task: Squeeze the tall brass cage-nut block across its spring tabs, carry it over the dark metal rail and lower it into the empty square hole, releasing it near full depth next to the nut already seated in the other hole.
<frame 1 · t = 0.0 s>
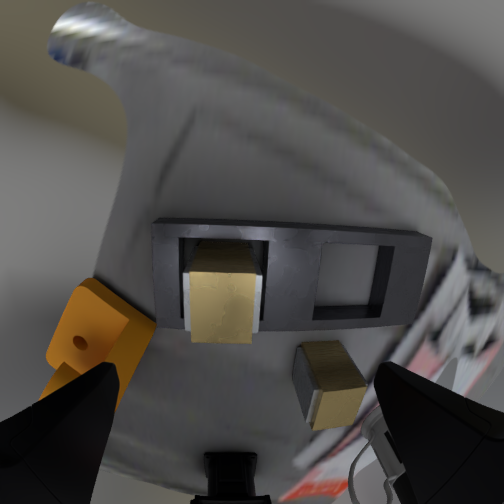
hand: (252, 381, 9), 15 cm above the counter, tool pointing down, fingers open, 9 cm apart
bracket: (101, 334, 24), on the counter
rail: (298, 272, 24), on the counter
brass nut: (316, 360, 26), on the counter
seated nut: (223, 269, 23), resting in rail
glass holder: (373, 419, 30), on the counter
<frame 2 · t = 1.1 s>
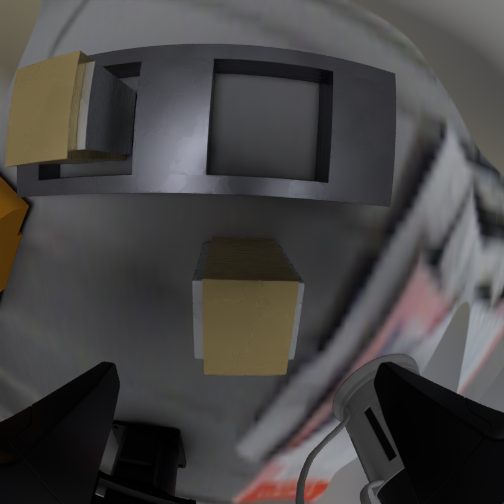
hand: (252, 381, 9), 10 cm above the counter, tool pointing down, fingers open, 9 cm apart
rail: (196, 121, 15), on the counter
brass nut: (240, 273, 18), on the counter
seated nut: (101, 126, 15), resting in rail
glass holder: (351, 392, 22), on the counter
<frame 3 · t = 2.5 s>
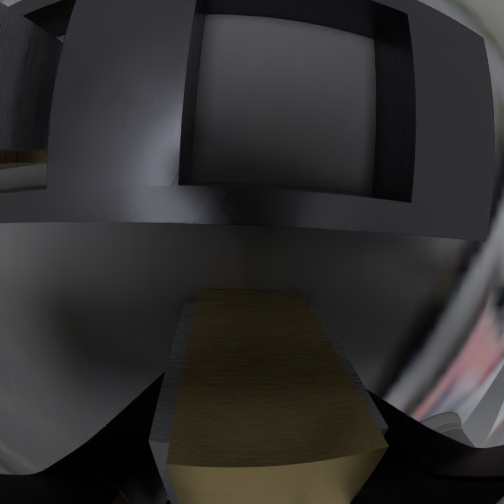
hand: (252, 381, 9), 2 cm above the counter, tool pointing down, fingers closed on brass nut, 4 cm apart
rail: (169, 89, 8), on the counter
brass nut: (247, 343, 11), on the counter, touching gripper
seated nut: (28, 110, 8), resting in rail
glass holder: (383, 458, 15), on the counter
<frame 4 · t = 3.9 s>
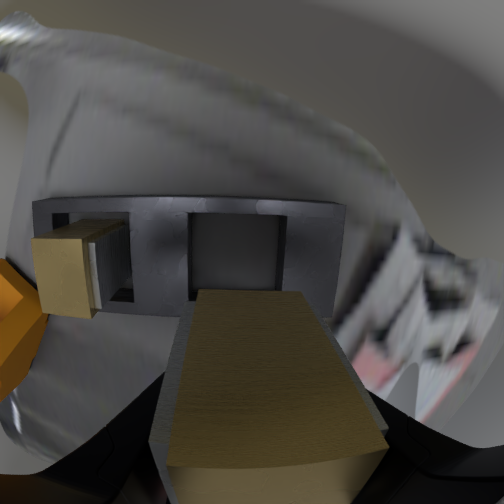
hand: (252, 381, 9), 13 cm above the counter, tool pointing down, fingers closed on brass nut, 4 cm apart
bracket: (16, 315, 21), on the counter
rail: (179, 250, 21), on the counter
brass nut: (247, 344, 11), point 11 cm above the counter, touching gripper
seated nut: (103, 248, 20), resting in rail
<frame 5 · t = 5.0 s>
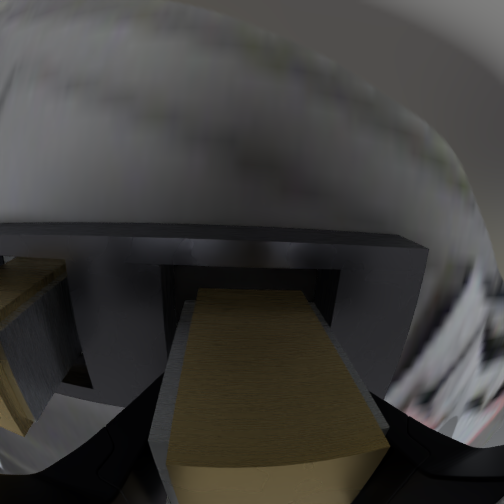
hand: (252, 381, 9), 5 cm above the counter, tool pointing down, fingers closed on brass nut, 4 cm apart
rail: (156, 311, 13), on the counter
brass nut: (247, 343, 11), point 2 cm above the counter, touching gripper
seated nut: (49, 300, 12), resting in rail
when the fingers open (3 cm above the counter, at t = 5.6 s): brass nut stays where it is, resting in rail.
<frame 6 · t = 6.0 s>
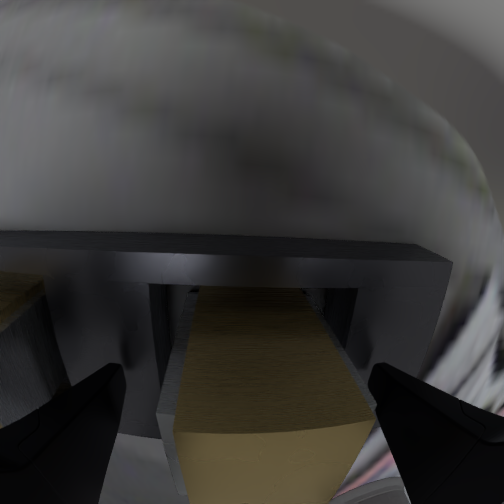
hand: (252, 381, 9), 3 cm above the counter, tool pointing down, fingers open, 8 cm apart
rail: (147, 330, 11), on the counter
brass nut: (246, 333, 12), resting in rail
seated nut: (33, 314, 11), resting in rail
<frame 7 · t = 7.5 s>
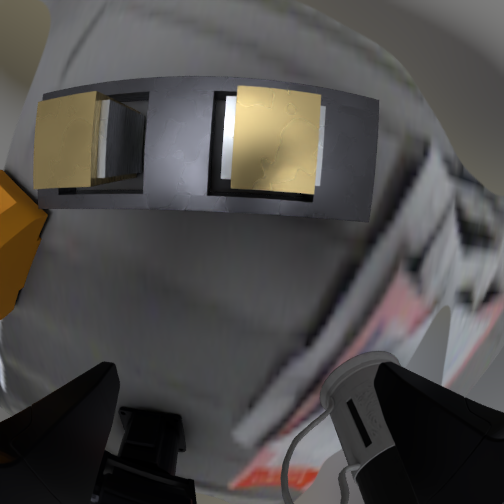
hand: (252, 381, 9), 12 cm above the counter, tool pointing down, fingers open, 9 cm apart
bracket: (7, 238, 19), on the counter
rail: (198, 144, 18), on the counter
brass nut: (260, 147, 18), resting in rail
seated nut: (114, 145, 17), resting in rail
glass holder: (337, 385, 25), on the counter
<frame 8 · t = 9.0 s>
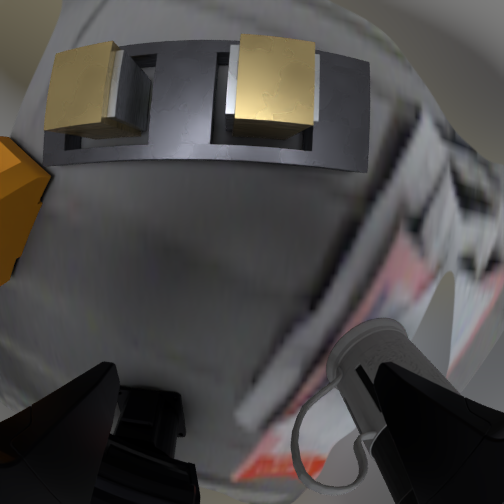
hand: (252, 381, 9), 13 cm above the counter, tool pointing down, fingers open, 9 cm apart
bracket: (8, 206, 19), on the counter
rail: (201, 104, 18), on the counter
brass nut: (260, 107, 18), resting in rail
seated nut: (120, 107, 17), resting in rail
glass holder: (343, 356, 25), on the counter
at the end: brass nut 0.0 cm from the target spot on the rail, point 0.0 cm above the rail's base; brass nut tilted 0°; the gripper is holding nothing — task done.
